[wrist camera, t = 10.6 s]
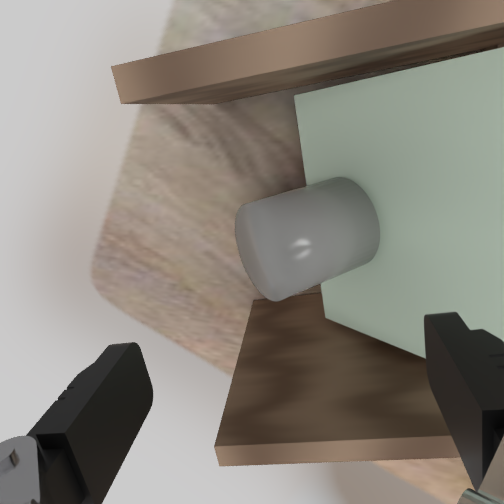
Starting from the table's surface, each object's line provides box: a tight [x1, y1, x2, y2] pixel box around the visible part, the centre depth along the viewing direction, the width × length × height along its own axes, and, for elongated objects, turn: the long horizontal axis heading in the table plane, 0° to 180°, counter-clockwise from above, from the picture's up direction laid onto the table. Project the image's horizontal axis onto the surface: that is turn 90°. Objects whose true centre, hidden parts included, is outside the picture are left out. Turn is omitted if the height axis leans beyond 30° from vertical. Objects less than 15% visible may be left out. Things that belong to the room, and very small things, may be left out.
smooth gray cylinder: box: [235, 177, 380, 301], centre depth 21 cm, size 5×5×6 cm
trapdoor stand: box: [111, 0, 504, 466], centre depth 22 cm, size 18×18×15 cm
